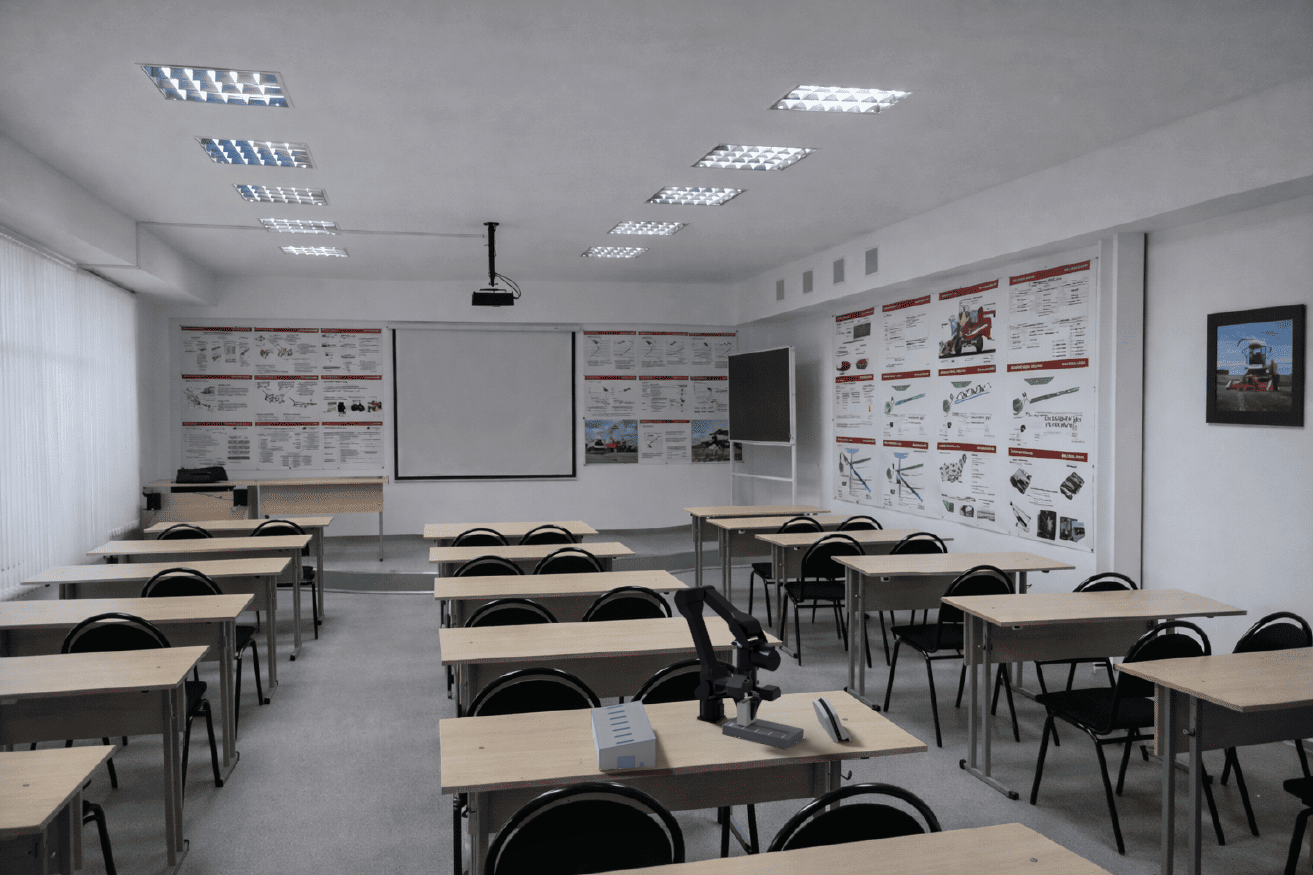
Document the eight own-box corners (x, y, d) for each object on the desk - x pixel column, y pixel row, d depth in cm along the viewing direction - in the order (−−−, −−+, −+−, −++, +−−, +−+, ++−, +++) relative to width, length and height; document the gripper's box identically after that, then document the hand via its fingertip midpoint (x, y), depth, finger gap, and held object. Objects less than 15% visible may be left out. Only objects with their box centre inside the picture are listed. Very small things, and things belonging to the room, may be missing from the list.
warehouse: (591, 729, 238) (591, 702, 238) (641, 726, 240) (641, 700, 240) (599, 772, 208) (599, 741, 208) (656, 768, 210) (656, 738, 210)
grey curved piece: (852, 742, 227) (840, 707, 226) (836, 748, 226) (823, 714, 226) (835, 720, 243) (824, 688, 243) (820, 726, 243) (808, 694, 243)
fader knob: (736, 724, 233) (736, 702, 232) (747, 718, 237) (747, 696, 237) (746, 726, 231) (746, 704, 231) (756, 720, 236) (756, 698, 236)
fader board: (722, 733, 233) (722, 724, 233) (739, 723, 241) (739, 714, 241) (787, 749, 222) (787, 739, 222) (803, 737, 230) (803, 728, 230)
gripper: (703, 664, 233) (703, 720, 233) (763, 675, 222) (763, 734, 222) (723, 655, 242) (723, 709, 242) (781, 666, 231) (781, 722, 231)
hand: (746, 718), depth 234 cm, fingers closed on fader knob, 3 cm apart
